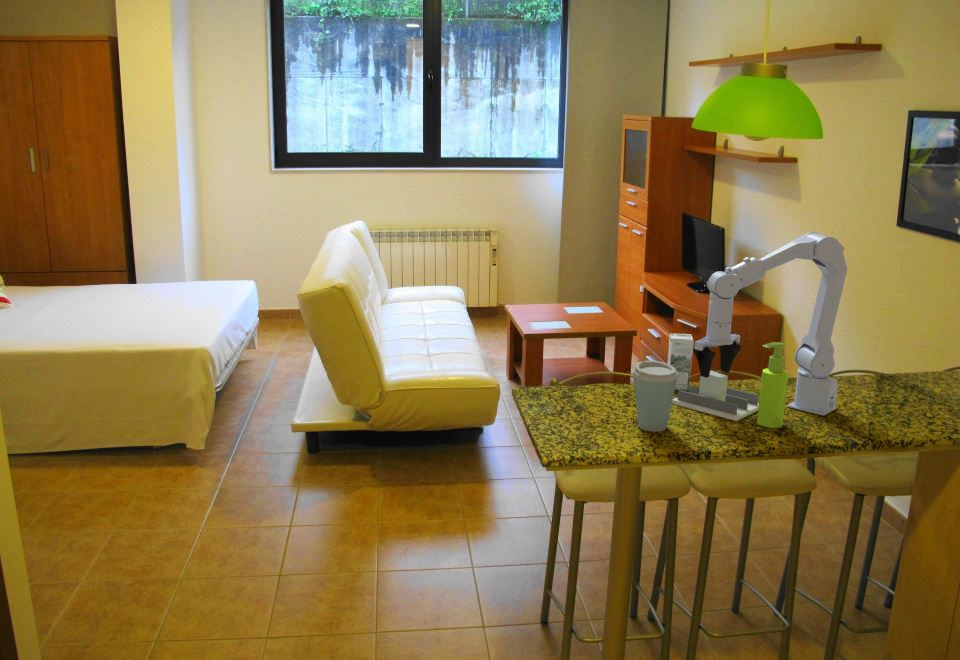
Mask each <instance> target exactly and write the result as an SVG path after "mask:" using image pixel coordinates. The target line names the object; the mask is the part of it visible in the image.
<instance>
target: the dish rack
mask: <svg viewBox="0 0 960 660" xmlns="http://www.w3.org/2000/svg"><path fill="white" fill-rule="evenodd" d="M699 387H700V386H699ZM699 387H698V386H695V385H691V384H690V385H689V391H682V390H677V397H675V398H673V400H672V405H676V406H680V407H682V408H686V409H690V410H695V411H697V412H701V413H705V414H709V415H712V416H715V417H716V416H717V417H721V418H724V419H727V420H731V421H734V422H738V421H740V420H741V419H744V418H746V417H748V416H750V415H752V414H754V413H756V412H758V409H759V397H760V394H756V393H752V392H748V391H744V390H739V389H736V388H732V387H728V386H727V390H726V401H721V400H717V399H713V398H709V397H705V396H701V395H699Z"/></svg>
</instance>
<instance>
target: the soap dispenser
mask: <svg viewBox="0 0 960 660" xmlns="http://www.w3.org/2000/svg"><path fill="white" fill-rule="evenodd" d="M786 346H787V344H786V343H784V342H776V341H774V342H773V341H772V342H768V343H765V344H762V348H765V349H767V350H769V349H773V348H774V349H773V354H772V355H769V359H768V366H767V367H766V368H763V369H762V373H761V383H760V392H759V399H758V403H759V409H758V411H757V420H756V423H757V424H758V425H759V426H761V427H764V428H770V429H778V428H781V427H782V428H783V426H784V419H785V418H784V417H785V410H786V409H785V408H786V399H787V389H788V381H789V374H790V373H789V371H787V370H785V369H784V368H785V367H784V366H785V356H783V355H782V351H783V348H786Z"/></svg>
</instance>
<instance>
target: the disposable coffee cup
mask: <svg viewBox="0 0 960 660" xmlns="http://www.w3.org/2000/svg"><path fill="white" fill-rule="evenodd" d="M631 376H632V377H633V384H634V385H633V386H634V387H633V388H634V395H635V396H634V397H635V405H636V406H635V408H636V415H637V425H638V427H639V428H640V429H642V430H644V431H647V432H655V433H656V432H663V431H664V430H666V428H667V427H668V423H669V418H670V414H671V409H672V405H673V404H672V400H673V399H674V395H675V391H676V390H675V386H676V381H677V379H678V371H676V369H675V368H674V367H673V366H671V365H669V364H667V362H662V361H659V360H652V359H651V360H642V361H639V362H636V363H635V366H634V367H633V369H632V375H631Z"/></svg>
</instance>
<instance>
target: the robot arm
mask: <svg viewBox="0 0 960 660" xmlns="http://www.w3.org/2000/svg"><path fill="white" fill-rule="evenodd" d="M844 252H845V247H844V246H843V244H842V243H841V242H840V241H839V240H838V239H837V238H835V237H834V236H827V235H824V234H821V233H819V232H817V231H810V232H808V233H807V232H806V234H804V235H800V236H797V237H796V238H794V239H793V240H792V241H790V242H788V243H787V244H784V246H781V247H779V248H778V249H776V250H774V251H772V252H770V253H768V254H767V255H764V256H763V257H761V258H756V257H748V256H746V257H744V258H743V259H742V261H741V262H739V263H737V264H735V265H734V266H727V267H726V268H725V271H723V270H722V271H721V270H720V271H715V272H714V273H712V274H711V276H710V277H709V278H708V281H706V287H707V289H708V290H709V301H708V310H707V312H708V313H707V322H706V323H707V324H706V336H704V337H703V338H701V339H699V340H696V341H694V346H693V354H694V355H695V358H696V360H697V364H698V369H699V374H700V376H703V377H706V378H708V377H709V374H710V370H711V367H712V363H713V359H714V357H715V355H716V354H717V352H716V351H712V350H711V348H716V347H718V348H719V353H720V354H719V355H720V371H721V372H723V373H726V374H729V373H730V372H731V368H732V366H733V363H734V360H735V359H736V356H737V355H738V353H739V352H740V351H741V350H742V346H741V344H740V343H741V335H739V334H736V333H731V332H732V321H733V310H734V299H735V298H734V297H736V296H737V294H738V293H739V290H743V289H744V288H745V287H748V286H750V285H751V284H754V283H756V282H758V281H760V280H763V279H764V278H765V275H766V273H767V272H768V271H770V270H772V269H774V268H777V267H779V266H782V265H784V264H787V263H788V262H791V261H794V260H795V259H801V260H809V261H812V262H813V263H814V264H815V265H816V266H817V268H818V269H819V270H820V272H821V273H822V274H821V277H820V282H819V286H818V291H817V295H816V299H815V304H814V308H813V311H812V312H813V313H812V317H811V321H810V325H809V329H808V333H807V334H806V335H805V336H804V337H802V339H801V342H800V343H801V344H800V345H799V347H798V348H797V349H796V351H795V354H794V360H795V363H796V364H797V366H798V367H797V375H796V384H795V393H794V400H793V401H792V402H790V403H789V404H787V408H791V409H795V410H800V411H803V412H807V413H811V414H815V415H819V416H826V415H828V414H829V413H832V412H833V411H834V410H836V409H837V407H836V404H837V403H836V402H837V394H838V385H839V384H838V380H837V379H836V378H835V377H834V378H833V377H830V374H831V373H832V372H833V370H834V369H835V358H834V353H835V348H834V344H833V342H832V336H833V330H834V328H835V322H836V320H837V319H836V318H837V315H838V311H839V310H838V309H839V306H840V302H841V298H842V294H843V290H844V285H845V281H846V276H847V273H848V266H847V262H846V258H845V256H844V255H845V254H844Z"/></svg>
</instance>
